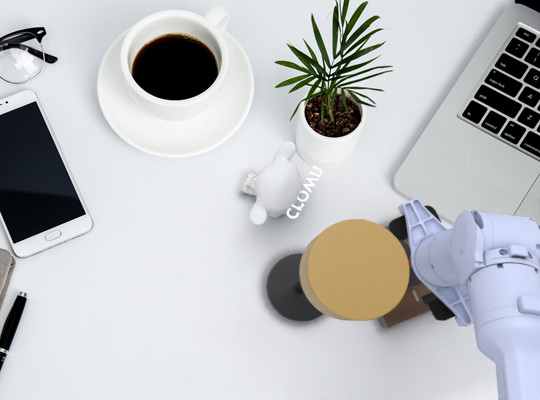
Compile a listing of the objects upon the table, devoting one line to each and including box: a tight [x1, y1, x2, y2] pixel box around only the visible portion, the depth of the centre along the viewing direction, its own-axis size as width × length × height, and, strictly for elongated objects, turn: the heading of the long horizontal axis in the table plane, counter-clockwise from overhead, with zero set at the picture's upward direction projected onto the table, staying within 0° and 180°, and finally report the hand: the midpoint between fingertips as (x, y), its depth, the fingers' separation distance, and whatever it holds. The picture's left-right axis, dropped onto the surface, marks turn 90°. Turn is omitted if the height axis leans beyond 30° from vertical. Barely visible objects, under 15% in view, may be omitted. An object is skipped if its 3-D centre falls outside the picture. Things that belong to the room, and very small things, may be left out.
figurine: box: [241, 140, 324, 227], centre depth 82 cm, size 12×8×10 cm
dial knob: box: [407, 256, 422, 287], centre depth 78 cm, size 4×4×4 cm
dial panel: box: [377, 225, 432, 329], centre depth 82 cm, size 12×10×3 cm
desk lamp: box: [265, 218, 411, 322], centre depth 60 cm, size 9×10×48 cm
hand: (414, 267), depth 75 cm, fingers open, 7 cm apart
